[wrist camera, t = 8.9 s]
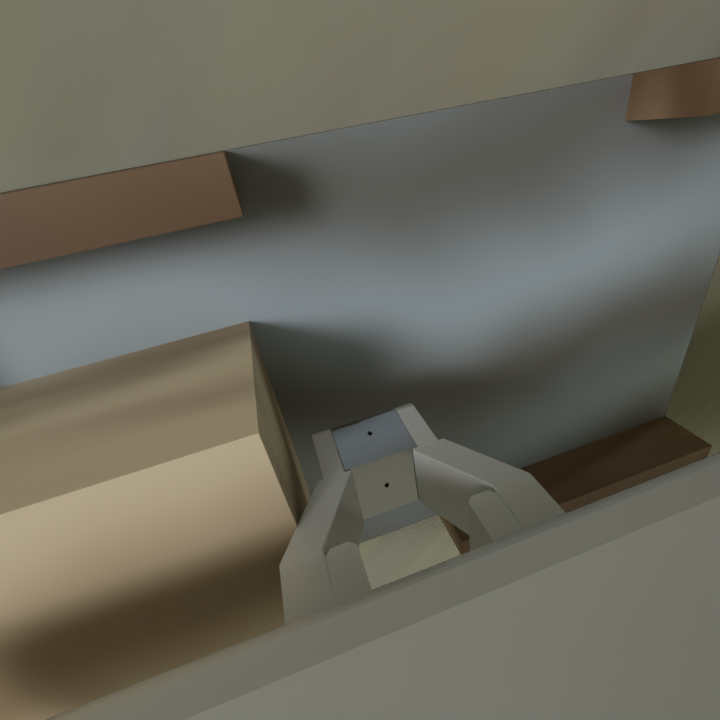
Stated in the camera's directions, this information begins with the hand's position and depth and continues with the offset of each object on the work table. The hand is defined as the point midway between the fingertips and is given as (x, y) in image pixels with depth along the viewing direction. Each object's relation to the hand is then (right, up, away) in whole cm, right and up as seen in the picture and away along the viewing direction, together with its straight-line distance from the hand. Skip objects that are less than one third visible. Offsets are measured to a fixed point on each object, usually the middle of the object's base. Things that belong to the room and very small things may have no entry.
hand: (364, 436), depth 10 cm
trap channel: (+1, +2, +2) cm, 3 cm away
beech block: (-6, -1, +1) cm, 6 cm away
